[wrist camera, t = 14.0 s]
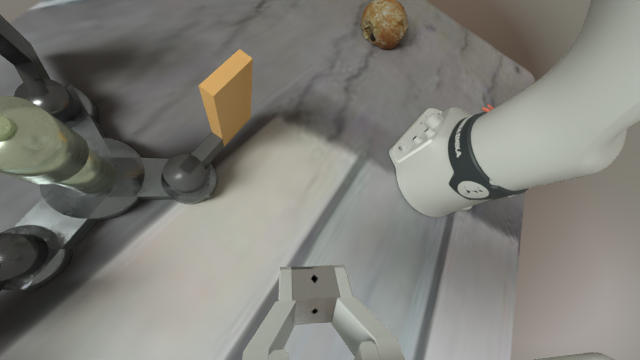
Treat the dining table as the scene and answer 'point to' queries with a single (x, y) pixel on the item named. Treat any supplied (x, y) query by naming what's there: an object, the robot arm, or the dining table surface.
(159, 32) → the dining table surface
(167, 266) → the dining table surface
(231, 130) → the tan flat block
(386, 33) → the bread roll
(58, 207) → the levelling base
